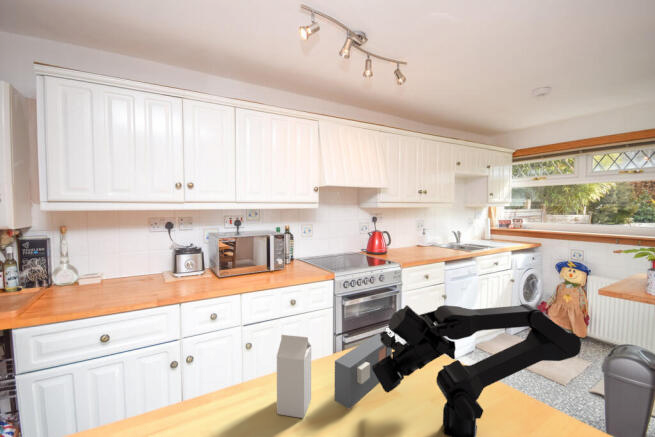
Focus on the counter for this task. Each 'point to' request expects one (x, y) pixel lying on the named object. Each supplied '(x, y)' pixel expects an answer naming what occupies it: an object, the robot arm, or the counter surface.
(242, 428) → the counter surface
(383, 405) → the counter surface
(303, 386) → the milk carton
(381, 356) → the terracotta button
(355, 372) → the console
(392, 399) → the counter surface
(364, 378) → the cream button
